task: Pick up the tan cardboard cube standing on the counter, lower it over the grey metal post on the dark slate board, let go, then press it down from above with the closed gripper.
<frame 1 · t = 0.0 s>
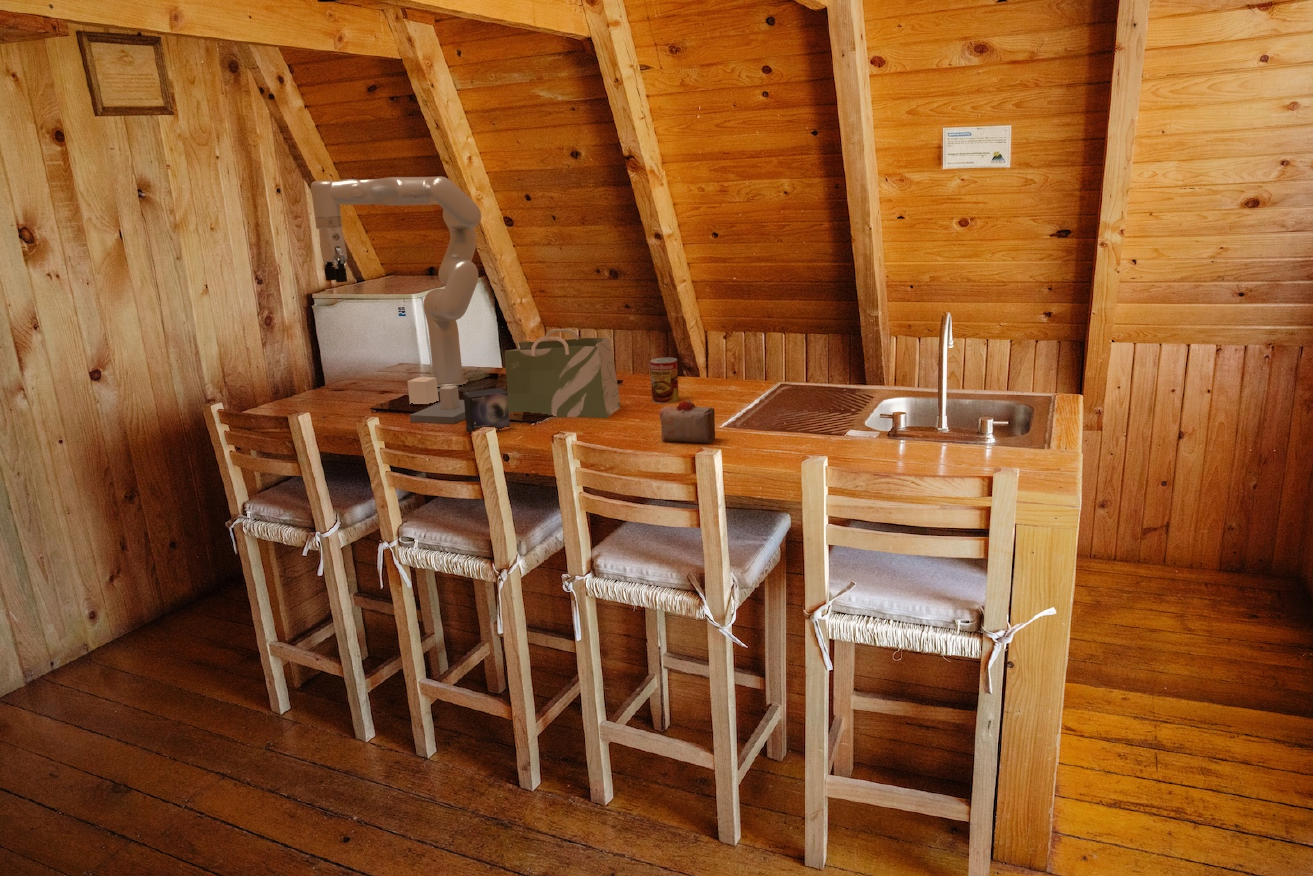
hand: (336, 281, 288), 37 cm above the table, tool pointing down, fingers open, 9 cm apart
canned food: (665, 400, 279), on the table
small box: (488, 430, 254), on the table
post base: (451, 414, 274), on the table
food item: (687, 441, 236), on the table
grocery bag: (562, 412, 271), on the table
tan cardboard cube: (424, 403, 289), on the table
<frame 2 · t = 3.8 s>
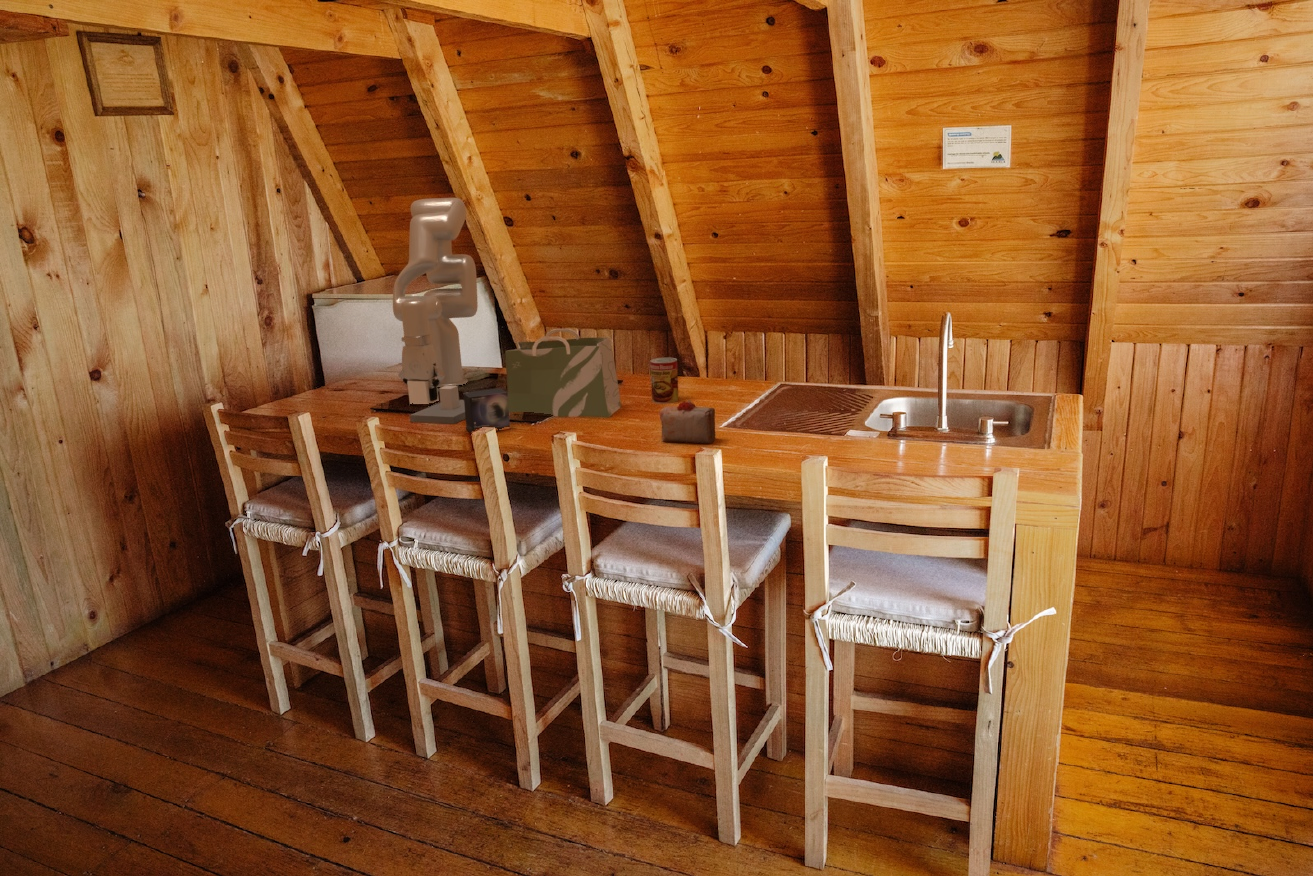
hand: (424, 399, 288), 1 cm above the table, tool pointing down, fingers closed on tan cardboard cube, 6 cm apart
tan cardboard cube: (424, 403, 289), on the table, touching gripper
everything else where it was.
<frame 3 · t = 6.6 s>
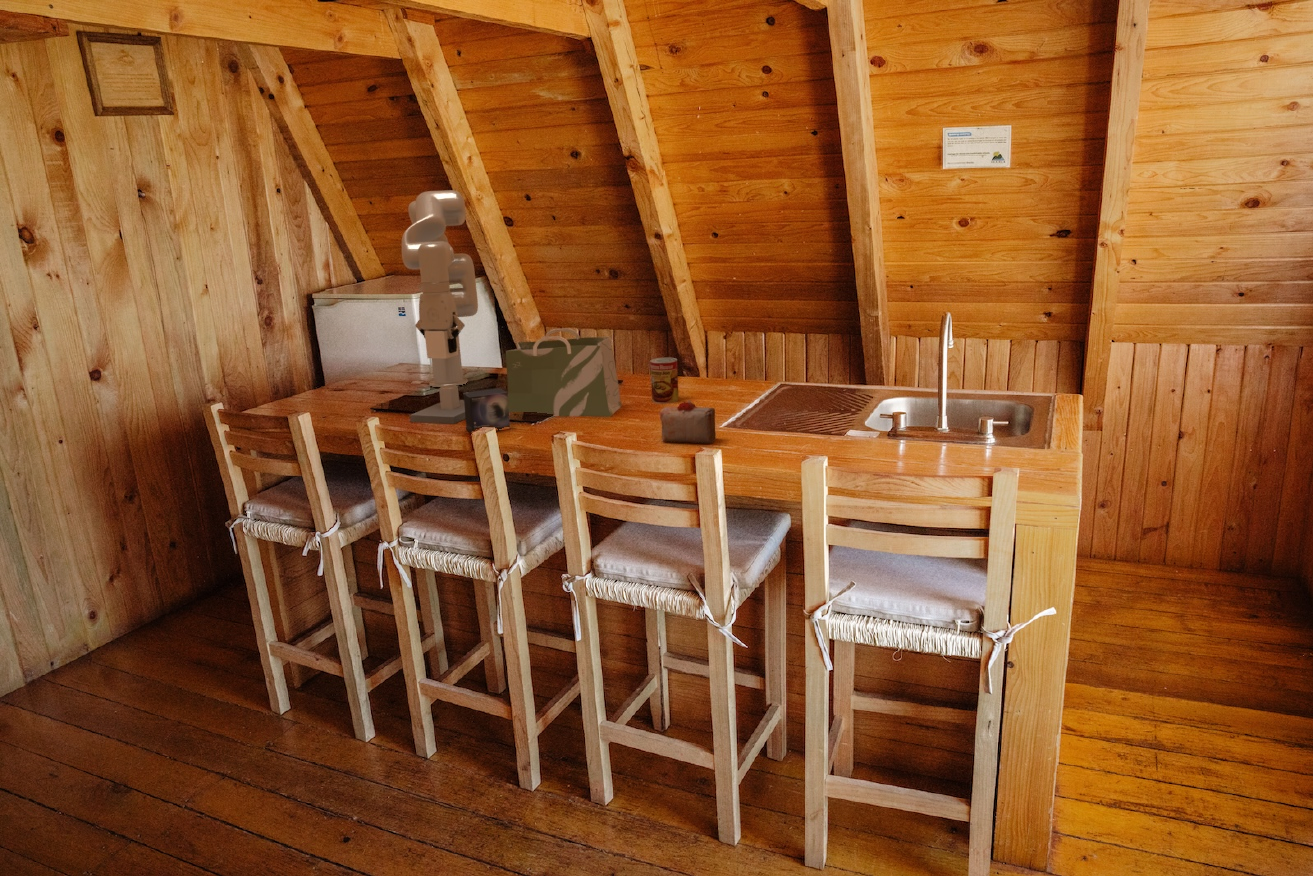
hand: (442, 351, 270), 18 cm above the table, tool pointing down, fingers closed on tan cardboard cube, 6 cm apart
tan cardboard cube: (442, 356, 270), point 17 cm above the table, touching gripper
everything else where it was.
when the fingers open (5 cm above the table, at t = 9.2 s): tan cardboard cube drops 1 cm, resting on post base.
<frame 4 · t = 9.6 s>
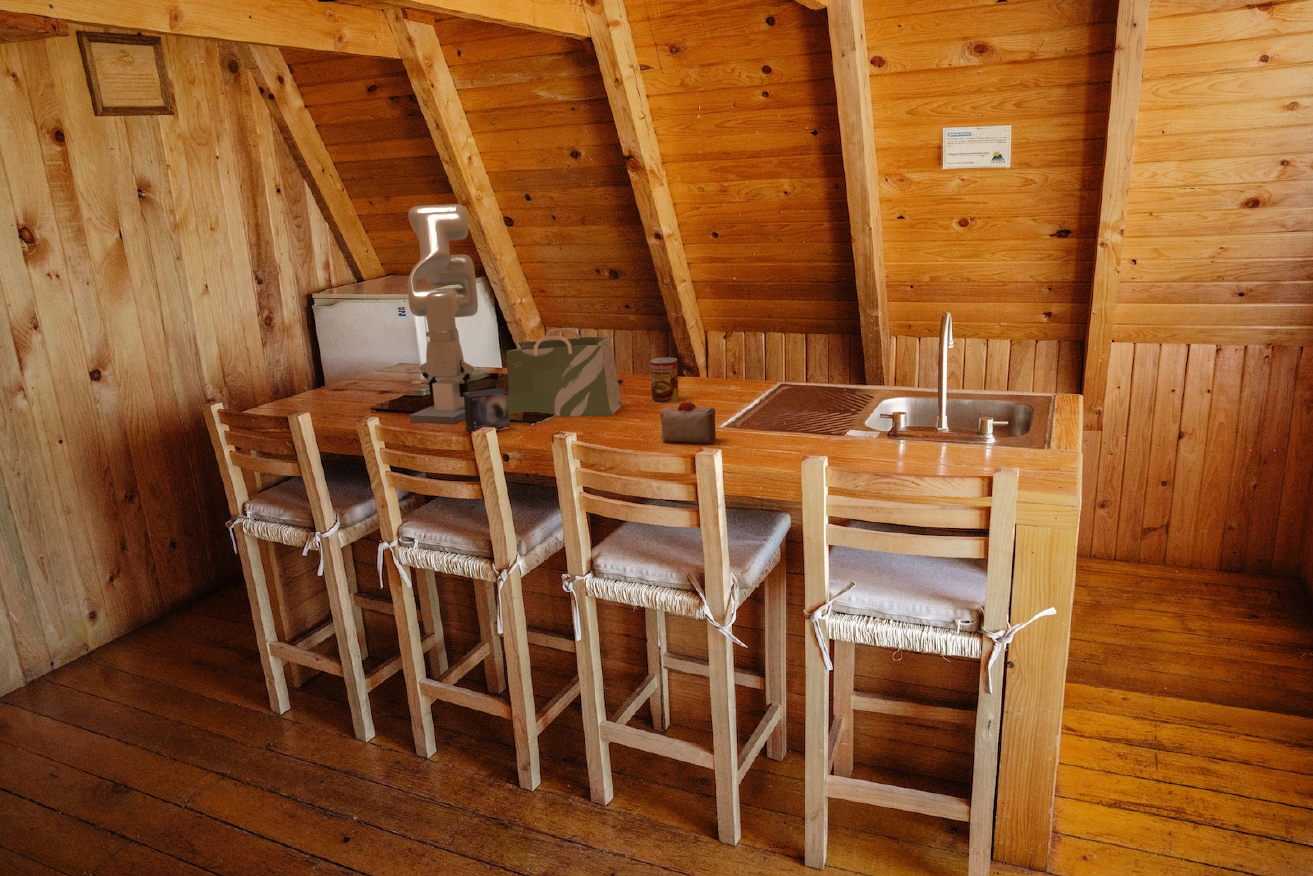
hand: (449, 395, 272), 6 cm above the table, tool pointing down, fingers open, 9 cm apart
tan cardboard cube: (450, 407, 273), point 2 cm above the table, touching post base
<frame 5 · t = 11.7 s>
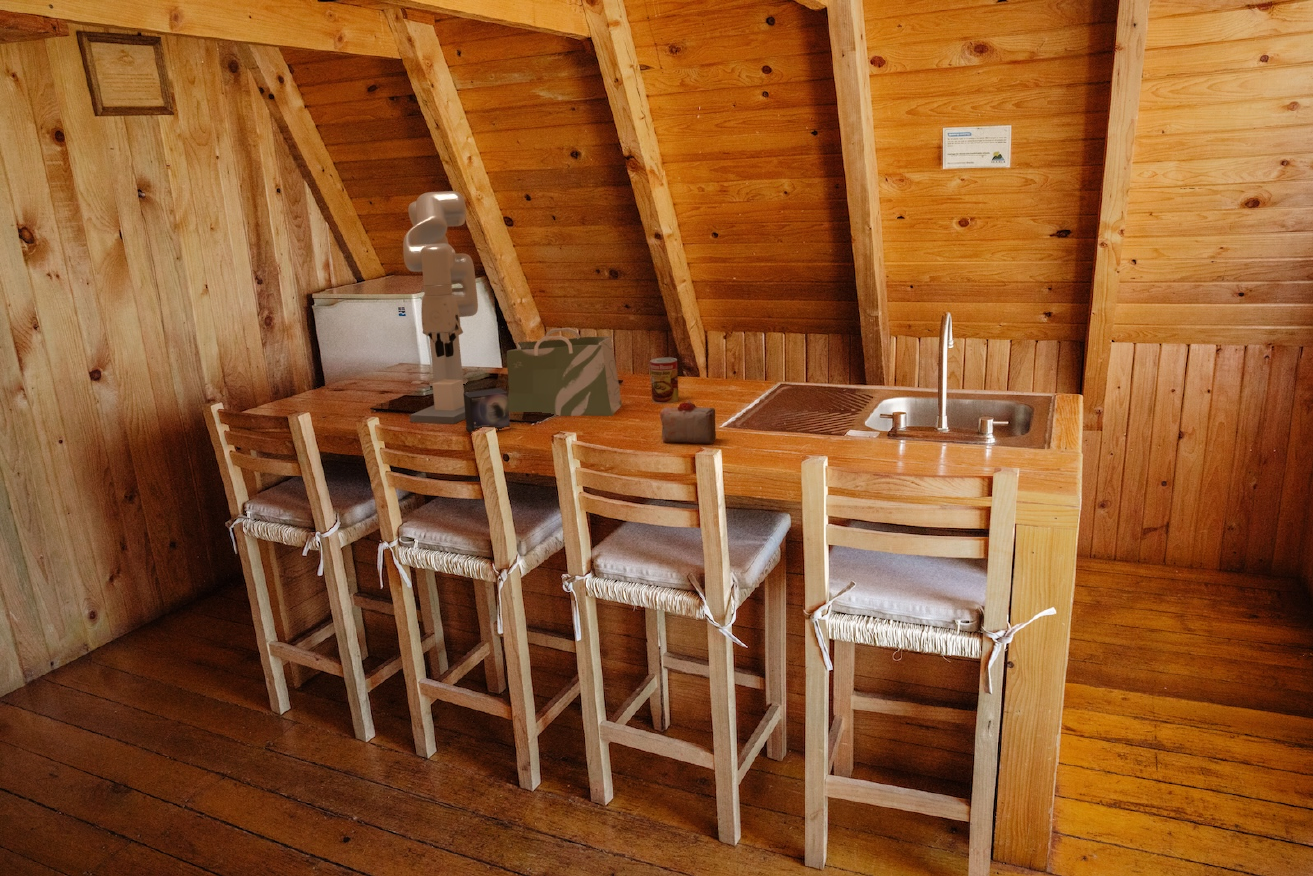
hand: (445, 355, 269), 17 cm above the table, tool pointing down, fingers closed
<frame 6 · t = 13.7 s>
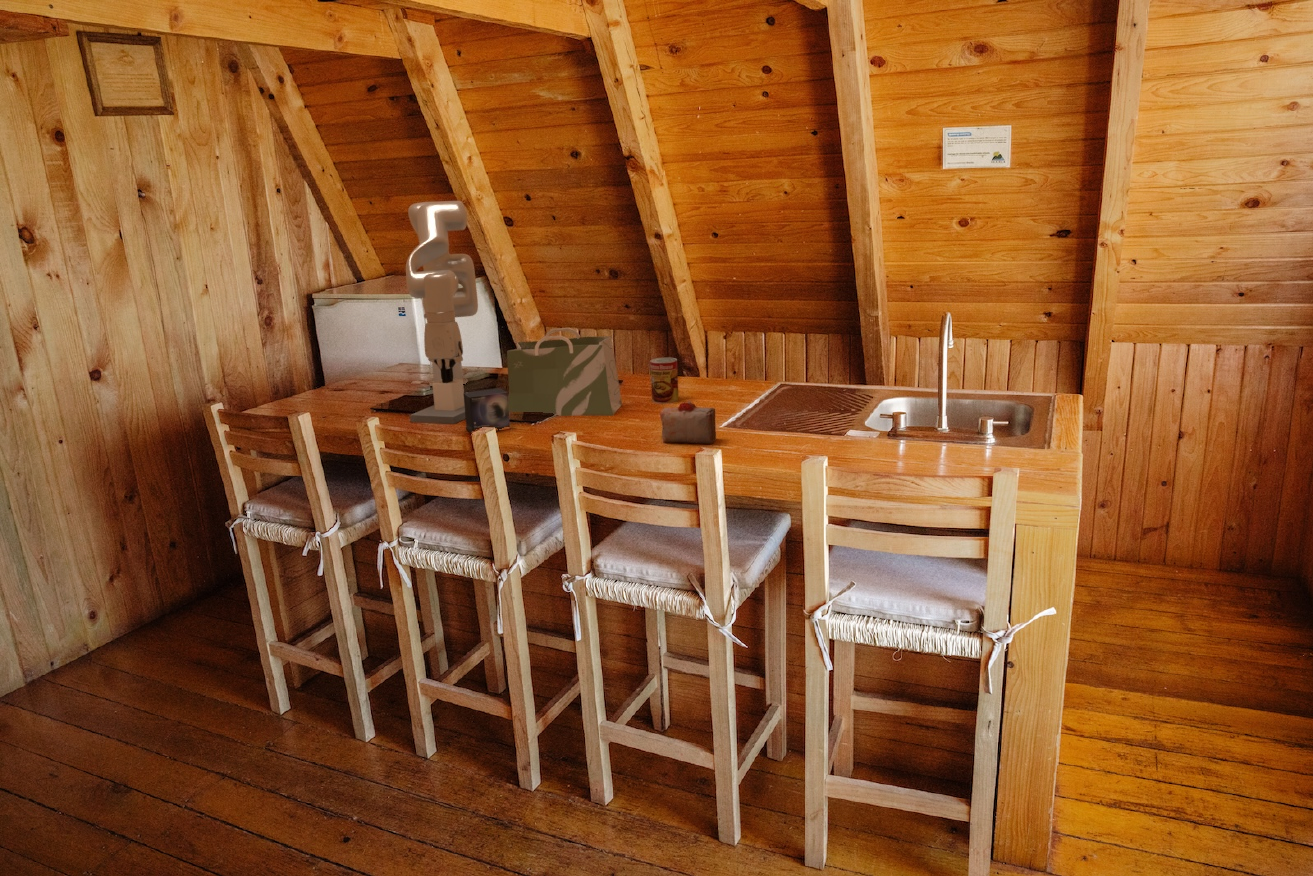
hand: (447, 381, 271), 10 cm above the table, tool pointing down, fingers closed
tan cardboard cube: (450, 407, 273), point 2 cm above the table, touching gripper, post base
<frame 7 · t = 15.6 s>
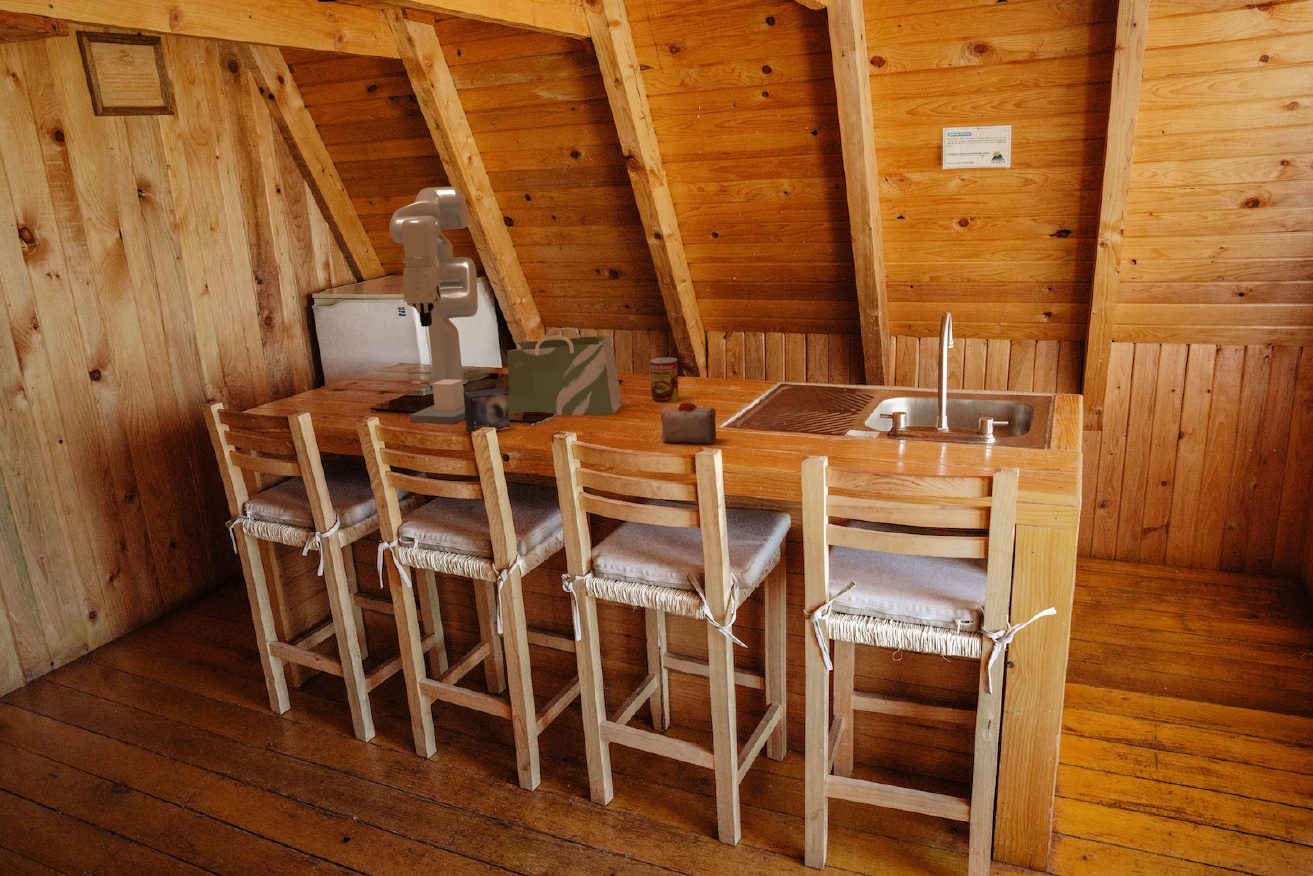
hand: (426, 325, 279), 24 cm above the table, tool pointing down, fingers closed
tan cardboard cube: (450, 407, 273), point 2 cm above the table, touching post base
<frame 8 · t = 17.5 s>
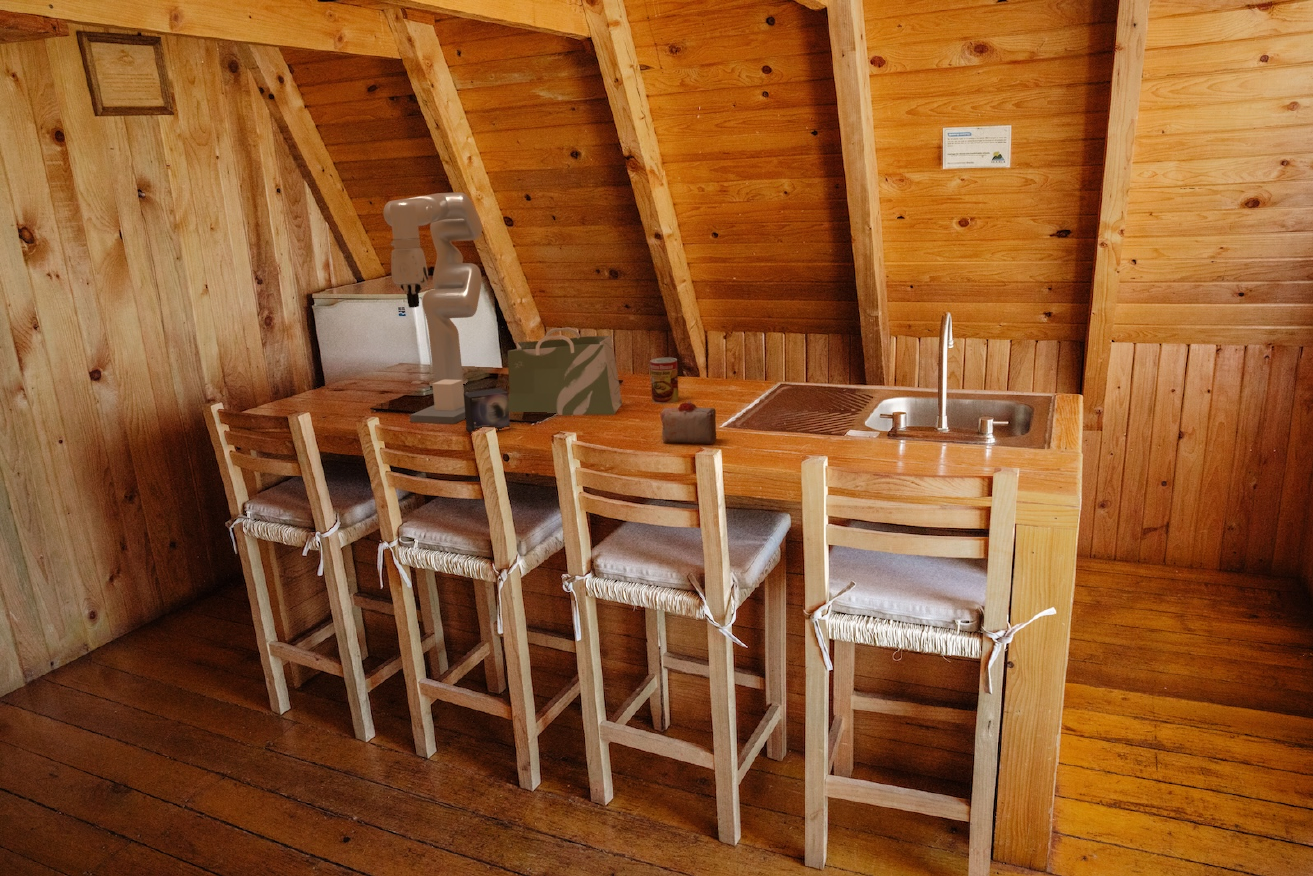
hand: (414, 306, 285), 29 cm above the table, tool pointing down, fingers closed
at the end: tan cardboard cube 0.1 cm from the post base (horizontally); tan cardboard cube point 2.0 cm above the table; tan cardboard cube tilted 0° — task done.
